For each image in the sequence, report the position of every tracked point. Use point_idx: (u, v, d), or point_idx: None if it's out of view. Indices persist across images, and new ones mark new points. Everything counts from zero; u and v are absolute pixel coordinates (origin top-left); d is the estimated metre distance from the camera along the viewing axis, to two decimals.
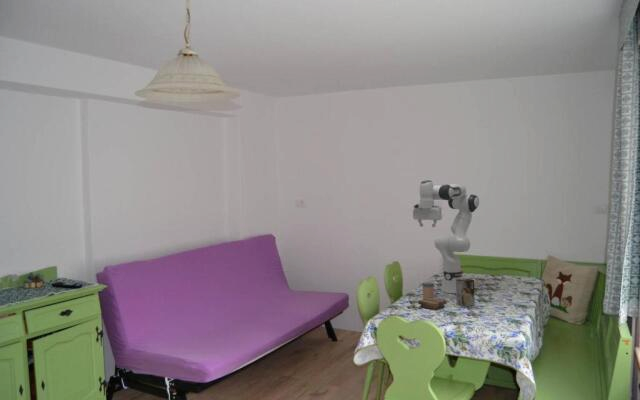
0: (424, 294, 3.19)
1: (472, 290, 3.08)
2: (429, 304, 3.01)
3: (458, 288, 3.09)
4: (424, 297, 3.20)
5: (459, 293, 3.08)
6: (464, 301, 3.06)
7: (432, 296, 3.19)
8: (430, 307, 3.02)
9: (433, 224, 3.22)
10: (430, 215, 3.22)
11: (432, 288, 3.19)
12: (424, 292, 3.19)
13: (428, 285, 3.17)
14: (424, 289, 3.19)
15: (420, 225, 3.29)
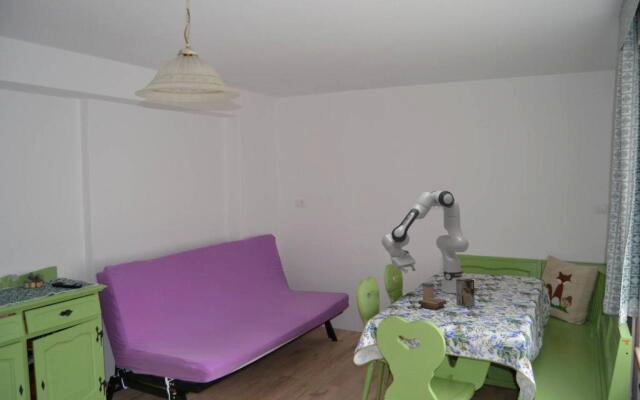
0: (424, 294, 3.19)
1: (472, 290, 3.08)
2: (429, 304, 3.01)
3: (458, 288, 3.09)
4: (424, 297, 3.20)
5: (459, 293, 3.08)
6: (464, 301, 3.06)
7: (432, 296, 3.19)
8: (430, 307, 3.02)
9: (404, 271, 3.26)
10: None
11: (432, 288, 3.19)
12: (424, 292, 3.19)
13: (428, 285, 3.17)
14: (424, 289, 3.19)
15: (413, 270, 3.33)
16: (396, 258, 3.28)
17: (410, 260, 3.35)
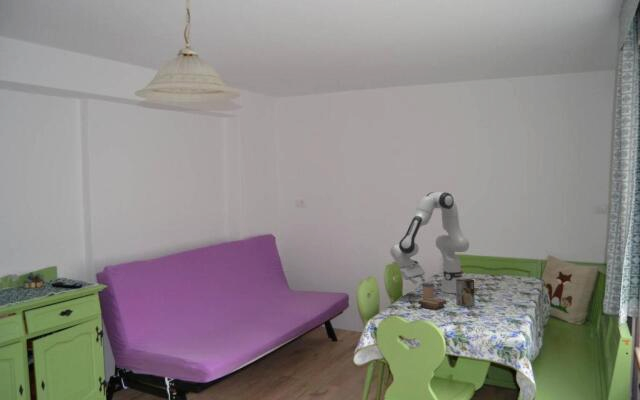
0: (424, 294, 3.19)
1: (472, 290, 3.08)
2: (429, 304, 3.01)
3: (458, 288, 3.09)
4: (424, 297, 3.20)
5: (459, 293, 3.08)
6: (464, 301, 3.06)
7: (432, 296, 3.19)
8: (430, 307, 3.02)
9: (413, 282, 3.22)
10: None
11: (432, 288, 3.19)
12: (424, 292, 3.19)
13: (428, 285, 3.17)
14: (424, 289, 3.19)
15: None
16: (405, 269, 3.23)
17: (419, 270, 3.31)
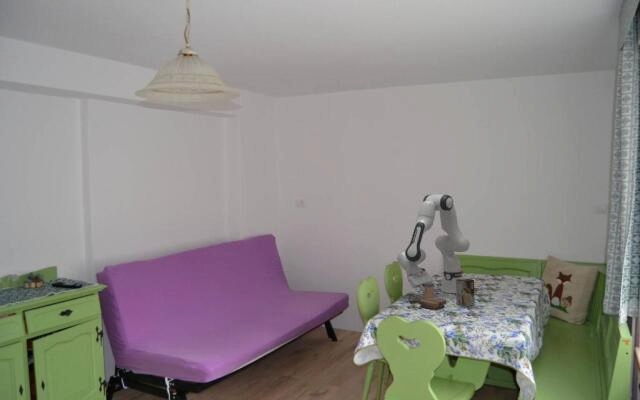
0: (424, 294, 3.19)
1: (472, 290, 3.08)
2: (429, 304, 3.01)
3: (458, 288, 3.09)
4: (424, 297, 3.20)
5: (459, 293, 3.08)
6: (464, 301, 3.06)
7: (432, 296, 3.19)
8: (430, 307, 3.02)
9: (422, 290, 3.19)
10: None
11: (432, 288, 3.19)
12: (424, 292, 3.19)
13: (428, 285, 3.17)
14: None
15: None
16: (413, 277, 3.20)
17: (427, 278, 3.27)
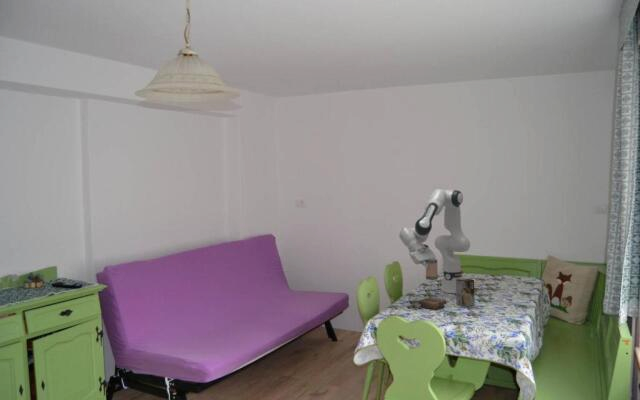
0: (427, 271, 3.05)
1: (472, 290, 3.08)
2: (429, 304, 3.01)
3: (458, 288, 3.09)
4: (427, 274, 3.06)
5: (459, 293, 3.08)
6: (464, 301, 3.06)
7: (435, 273, 3.05)
8: (430, 307, 3.02)
9: (425, 266, 3.05)
10: None
11: (435, 264, 3.05)
12: (427, 269, 3.06)
13: (431, 261, 3.03)
14: None
15: None
16: (416, 253, 3.06)
17: (430, 255, 3.13)
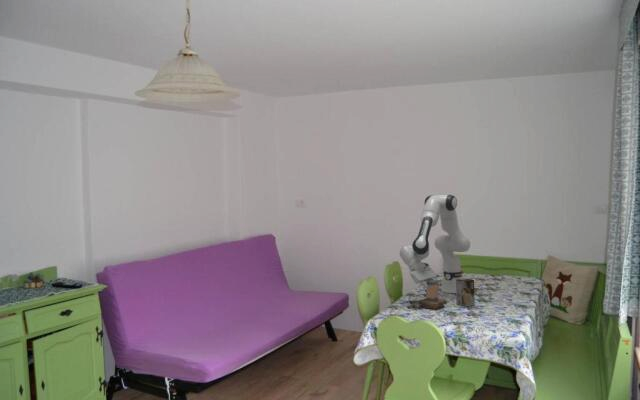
0: (428, 293, 3.06)
1: (472, 290, 3.08)
2: (429, 304, 3.01)
3: (458, 288, 3.09)
4: (428, 295, 3.06)
5: (459, 293, 3.08)
6: (464, 301, 3.06)
7: (436, 294, 3.06)
8: (430, 307, 3.02)
9: (425, 286, 3.05)
10: None
11: (436, 286, 3.06)
12: (428, 290, 3.06)
13: (432, 283, 3.04)
14: (428, 287, 3.06)
15: None
16: (416, 272, 3.06)
17: (430, 273, 3.13)
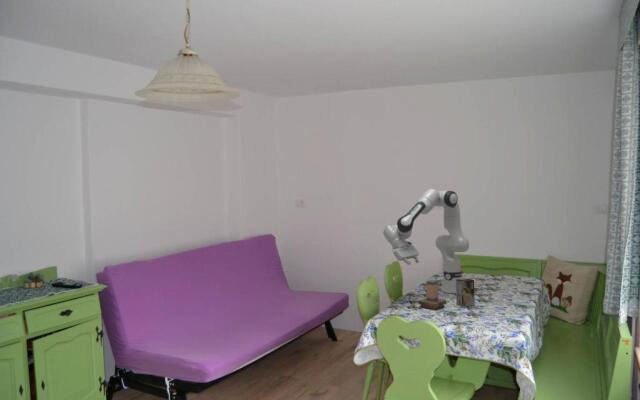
0: (428, 293, 3.06)
1: (472, 290, 3.08)
2: (429, 304, 3.01)
3: (458, 288, 3.09)
4: (428, 295, 3.06)
5: (459, 293, 3.08)
6: (464, 301, 3.06)
7: (436, 294, 3.06)
8: (430, 307, 3.02)
9: None
10: None
11: (436, 286, 3.06)
12: (428, 290, 3.06)
13: (432, 283, 3.04)
14: (428, 287, 3.06)
15: None
16: (398, 249, 3.14)
17: (413, 251, 3.22)
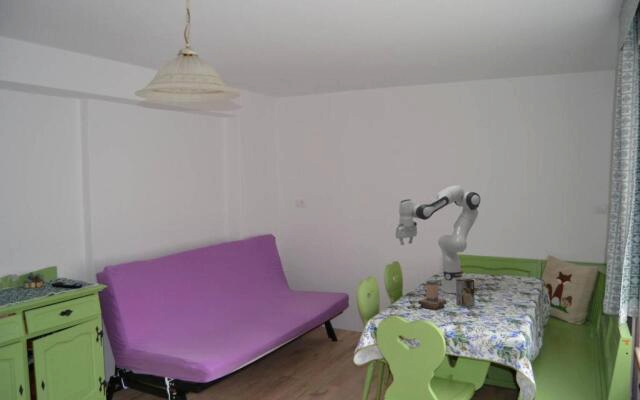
0: (428, 293, 3.06)
1: (472, 290, 3.08)
2: (429, 304, 3.01)
3: (458, 288, 3.09)
4: (428, 295, 3.06)
5: (459, 293, 3.08)
6: (464, 301, 3.06)
7: (436, 294, 3.06)
8: (430, 307, 3.02)
9: None
10: None
11: (436, 286, 3.06)
12: (428, 290, 3.06)
13: (432, 283, 3.04)
14: (428, 287, 3.06)
15: (409, 242, 3.41)
16: (402, 229, 3.30)
17: (413, 233, 3.39)
